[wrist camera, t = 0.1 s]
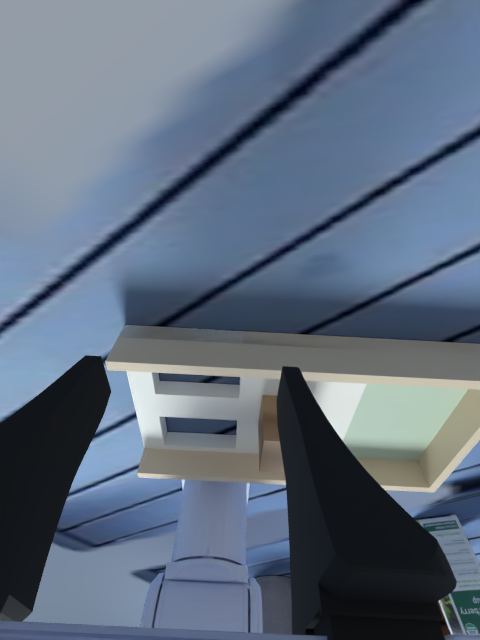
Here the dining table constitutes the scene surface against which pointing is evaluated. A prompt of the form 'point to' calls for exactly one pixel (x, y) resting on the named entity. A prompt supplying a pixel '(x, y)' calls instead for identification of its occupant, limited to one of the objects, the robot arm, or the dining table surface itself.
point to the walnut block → (269, 436)
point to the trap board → (327, 388)
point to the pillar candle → (276, 604)
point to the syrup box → (458, 575)
